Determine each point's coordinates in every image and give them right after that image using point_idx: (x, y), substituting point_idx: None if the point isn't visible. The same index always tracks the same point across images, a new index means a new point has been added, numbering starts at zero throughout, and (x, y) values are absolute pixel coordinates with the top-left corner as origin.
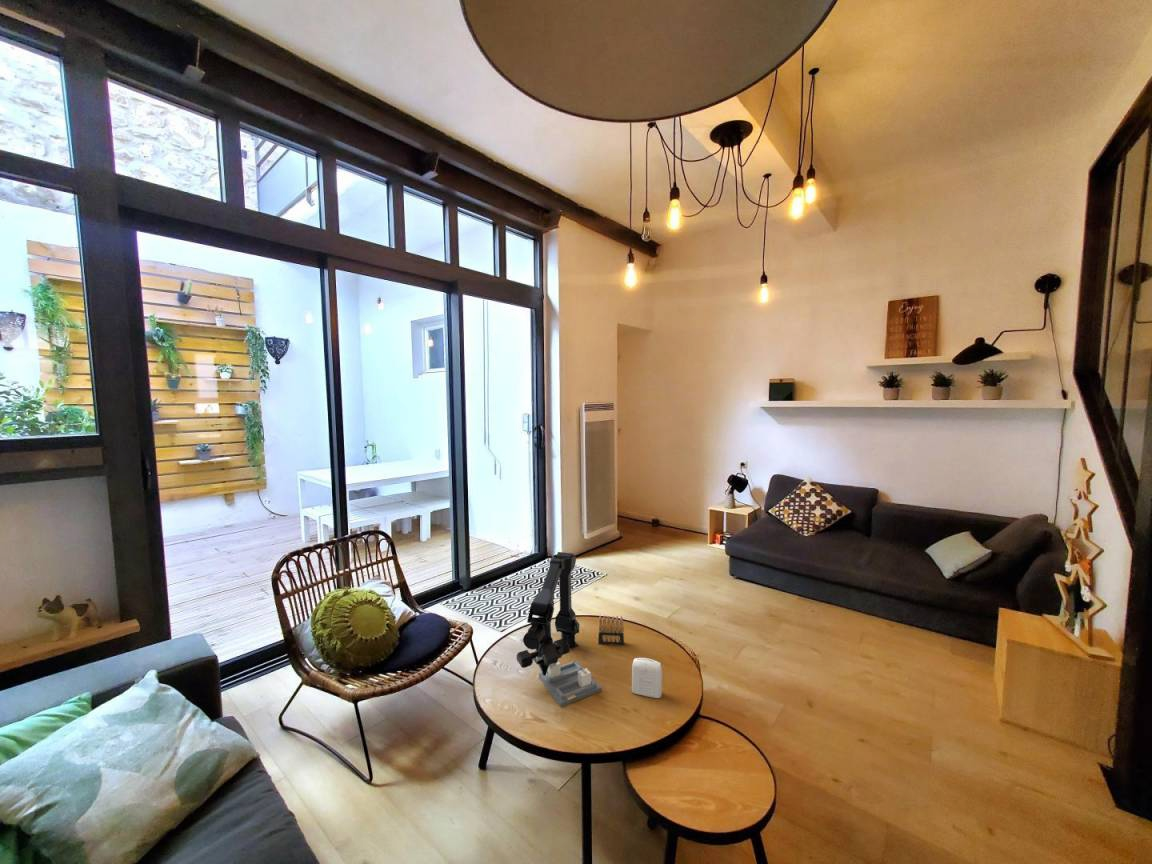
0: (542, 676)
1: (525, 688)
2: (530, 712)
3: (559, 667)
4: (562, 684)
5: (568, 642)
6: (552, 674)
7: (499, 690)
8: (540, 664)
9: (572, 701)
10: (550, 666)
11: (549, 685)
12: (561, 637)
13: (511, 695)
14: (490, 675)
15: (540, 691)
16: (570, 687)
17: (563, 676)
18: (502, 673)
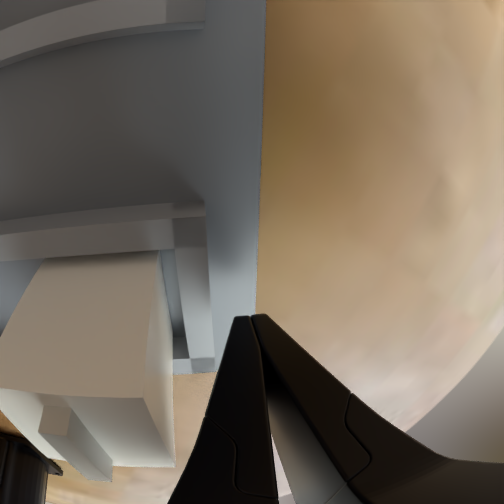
0: None
1: (407, 260)
2: (491, 4)
3: (9, 341)
4: (64, 100)
5: (4, 467)
6: (141, 287)
7: (488, 299)
8: (471, 466)
9: None
10: (155, 410)
11: (235, 155)
12: (41, 496)
13: (490, 235)
14: (434, 393)
15: (337, 158)
16: (10, 18)
17: (14, 227)
18: (398, 401)
